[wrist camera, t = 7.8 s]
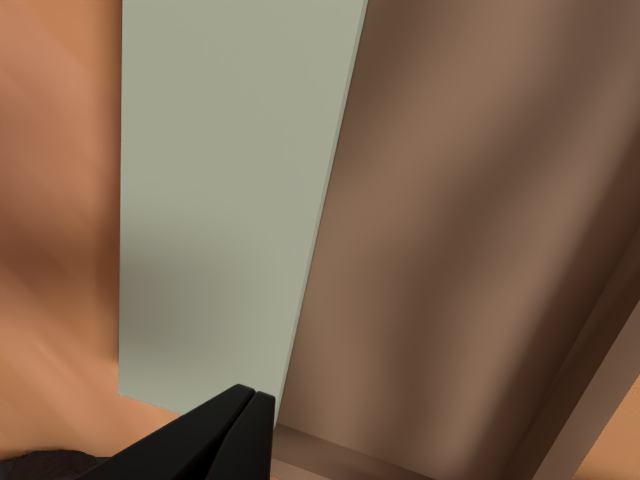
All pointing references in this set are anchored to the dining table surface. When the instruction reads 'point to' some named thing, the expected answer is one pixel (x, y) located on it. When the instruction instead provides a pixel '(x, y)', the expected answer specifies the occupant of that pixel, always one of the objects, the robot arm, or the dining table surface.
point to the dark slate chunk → (49, 465)
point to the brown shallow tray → (473, 248)
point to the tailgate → (223, 186)
